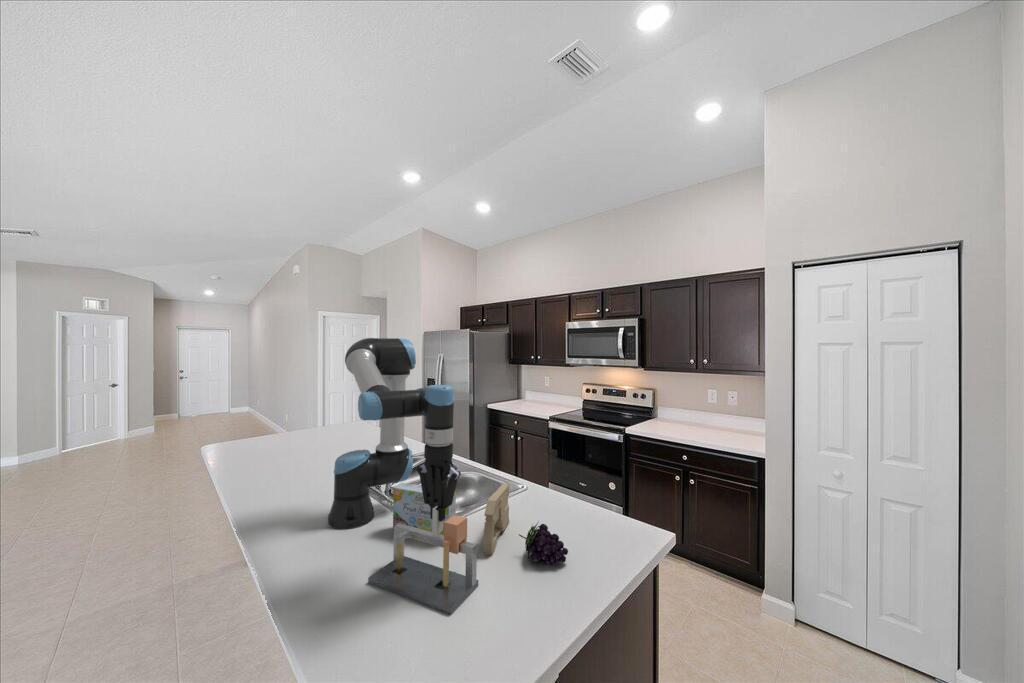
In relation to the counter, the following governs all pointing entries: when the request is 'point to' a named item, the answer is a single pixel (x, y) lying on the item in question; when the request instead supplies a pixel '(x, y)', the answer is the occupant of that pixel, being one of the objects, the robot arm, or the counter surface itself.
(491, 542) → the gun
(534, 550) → the fruit
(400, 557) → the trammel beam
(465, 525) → the block
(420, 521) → the snack box
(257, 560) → the counter surface
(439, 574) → the bolt plate
